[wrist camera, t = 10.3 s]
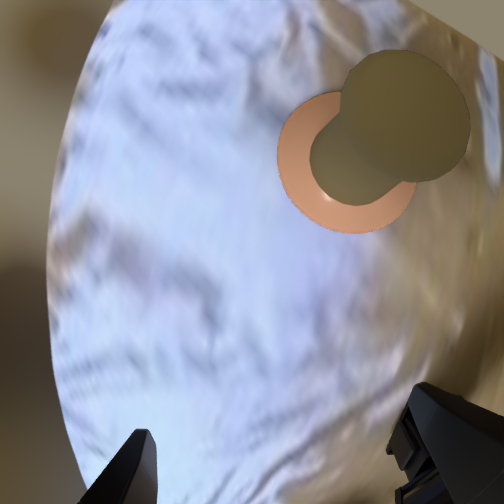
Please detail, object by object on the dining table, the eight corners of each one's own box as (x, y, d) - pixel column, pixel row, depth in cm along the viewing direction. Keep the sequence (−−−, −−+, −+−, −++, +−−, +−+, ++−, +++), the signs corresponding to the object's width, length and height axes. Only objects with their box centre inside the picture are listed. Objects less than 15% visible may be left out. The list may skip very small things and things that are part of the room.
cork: (375, 110, 17) (443, 24, 6) (407, 191, 18) (513, 167, 7) (295, 132, 18) (304, 37, 7) (327, 218, 19) (383, 213, 8)
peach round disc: (414, 112, 18) (418, 108, 17) (407, 242, 19) (411, 243, 18) (284, 87, 19) (284, 82, 18) (269, 222, 20) (268, 222, 19)
